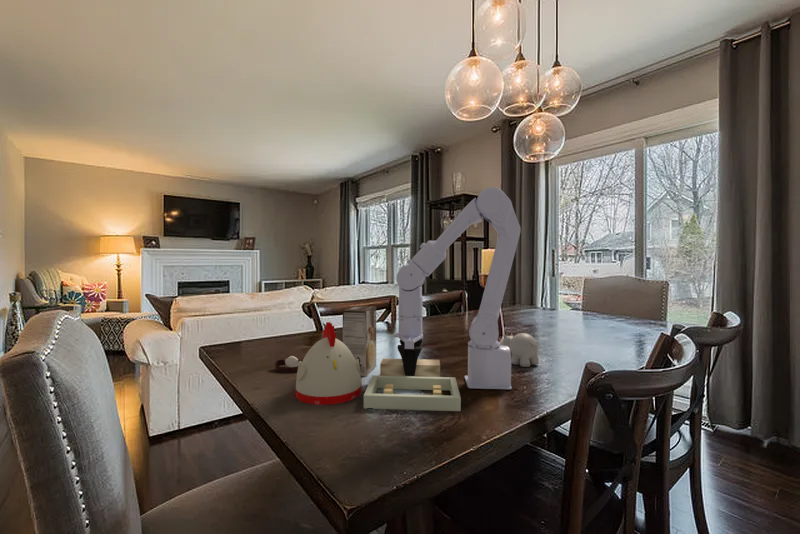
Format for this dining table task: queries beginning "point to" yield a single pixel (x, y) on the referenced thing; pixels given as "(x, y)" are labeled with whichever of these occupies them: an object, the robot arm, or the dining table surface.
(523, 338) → the round bodied animal figurine
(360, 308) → the coffee box
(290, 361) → the watch
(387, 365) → the board
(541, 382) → the dining table surface
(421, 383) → the peg frame
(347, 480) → the dining table surface
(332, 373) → the kitchen timer
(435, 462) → the dining table surface
